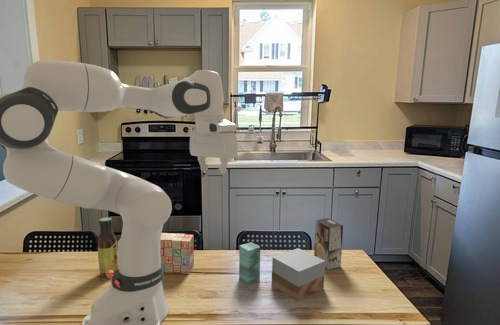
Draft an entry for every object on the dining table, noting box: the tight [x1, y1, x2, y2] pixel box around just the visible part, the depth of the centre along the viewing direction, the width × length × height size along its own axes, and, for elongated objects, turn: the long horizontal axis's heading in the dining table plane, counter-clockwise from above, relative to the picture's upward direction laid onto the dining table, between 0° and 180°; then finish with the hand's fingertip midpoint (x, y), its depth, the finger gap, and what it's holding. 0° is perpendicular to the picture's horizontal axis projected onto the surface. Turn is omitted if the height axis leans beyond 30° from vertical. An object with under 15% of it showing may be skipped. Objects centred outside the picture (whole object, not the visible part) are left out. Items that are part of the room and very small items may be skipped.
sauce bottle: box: [96, 216, 119, 278], centre depth 116 cm, size 7×6×20 cm
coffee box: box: [313, 217, 344, 270], centre depth 126 cm, size 9×6×16 cm
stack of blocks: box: [160, 232, 195, 275], centre depth 121 cm, size 21×6×12 cm, turn 85°
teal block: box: [238, 241, 261, 286], centre depth 114 cm, size 5×5×12 cm
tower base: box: [271, 271, 325, 302], centre depth 110 cm, size 12×12×5 cm
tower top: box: [271, 247, 326, 287], centre depth 110 cm, size 12×12×5 cm
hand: (213, 171), depth 103 cm, fingers open, 8 cm apart
